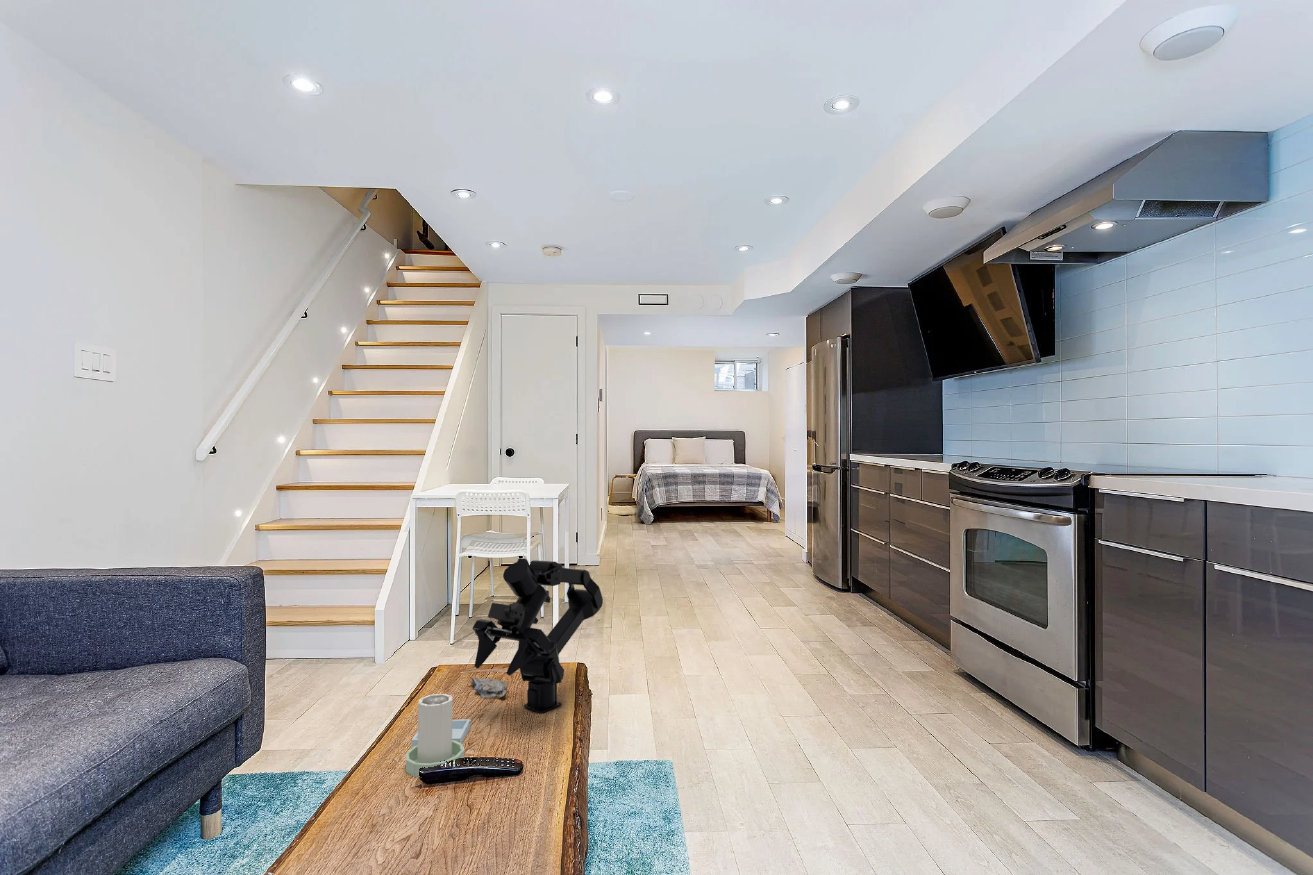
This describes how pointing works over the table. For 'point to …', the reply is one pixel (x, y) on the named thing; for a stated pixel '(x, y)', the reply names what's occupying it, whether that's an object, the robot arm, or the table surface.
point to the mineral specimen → (489, 688)
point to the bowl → (414, 766)
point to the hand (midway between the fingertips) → (491, 670)
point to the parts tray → (458, 731)
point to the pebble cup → (435, 728)
